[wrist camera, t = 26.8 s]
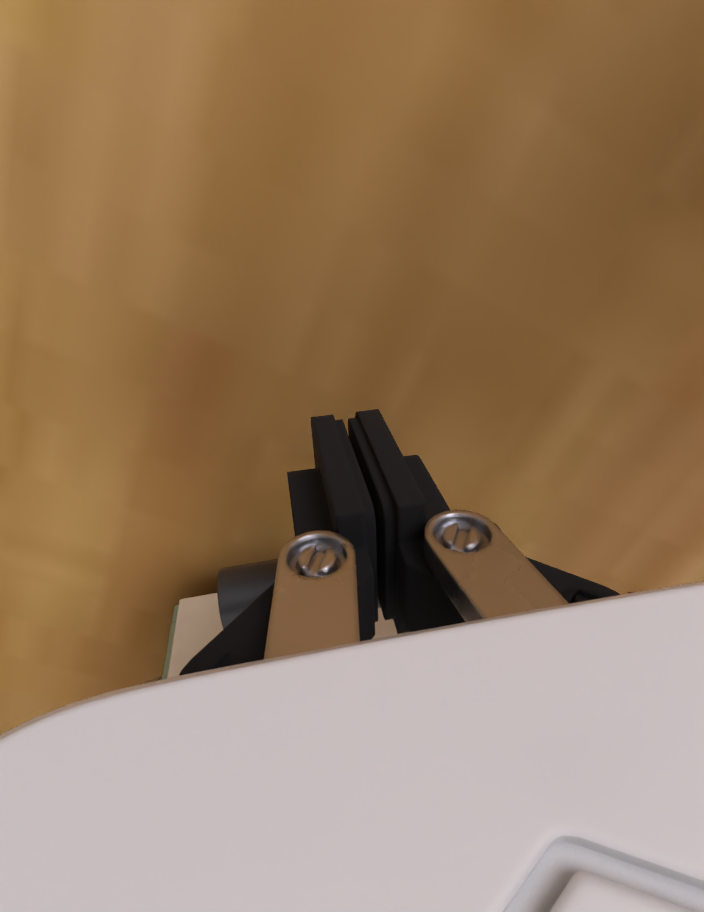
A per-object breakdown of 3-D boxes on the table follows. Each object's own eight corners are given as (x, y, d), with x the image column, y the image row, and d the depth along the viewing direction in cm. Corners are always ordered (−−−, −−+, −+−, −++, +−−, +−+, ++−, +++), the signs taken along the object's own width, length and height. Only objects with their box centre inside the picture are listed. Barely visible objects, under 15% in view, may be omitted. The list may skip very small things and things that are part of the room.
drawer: (135, 478, 16) (59, 692, 9) (514, 421, 17) (669, 573, 11) (248, 793, 26) (248, 993, 20) (477, 741, 27) (544, 912, 21)
